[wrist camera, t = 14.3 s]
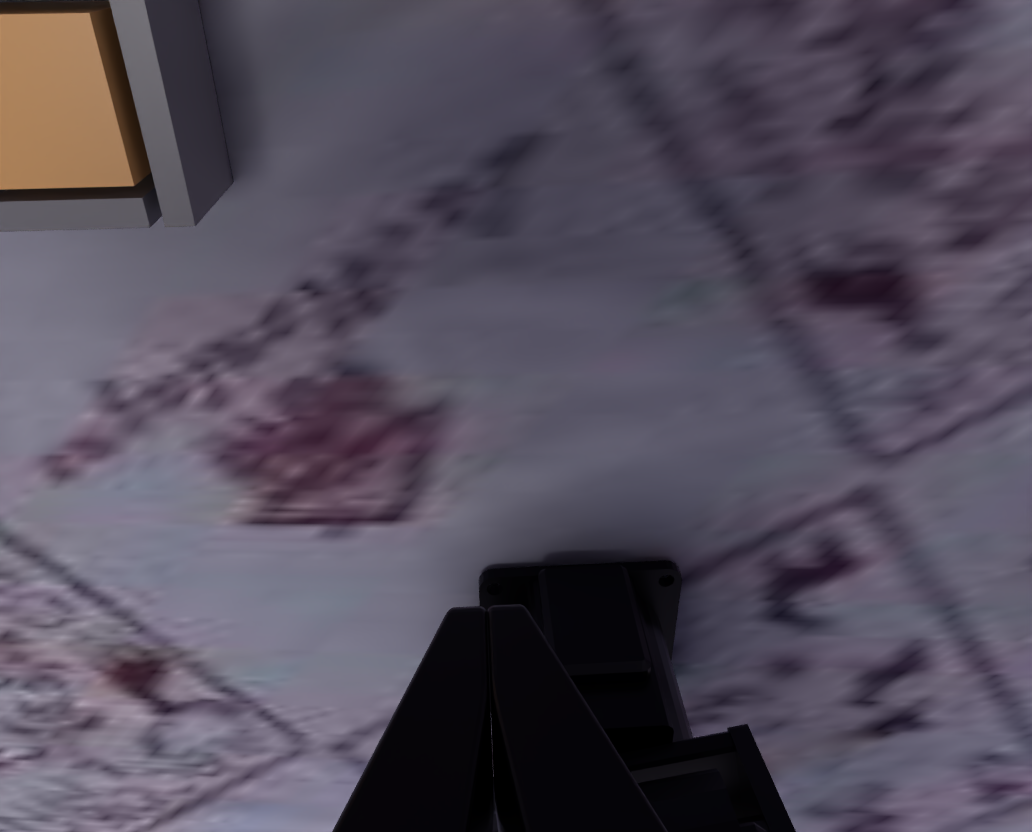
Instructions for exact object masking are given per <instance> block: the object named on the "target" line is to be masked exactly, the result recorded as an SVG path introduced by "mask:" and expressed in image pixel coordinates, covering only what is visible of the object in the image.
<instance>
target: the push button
mask: <svg viewBox="0 0 1032 832" xmlns="http://www.w3.org/2000/svg"><path fill="white" fill-rule="evenodd" d="M150 173H151V168H150V164H149V160H148V156H147V152H146V148H145V144H144V140H143V136H142V132H141V127H140V123H139V119H138V115H137V111H136V107H135V103H134V99H133V95H132V91H131V87H130V83H129V79H128V75H127V71H126V67H125V63H124V59H123V54H122V50H121V46H120V42H119V38H118V34H117V30H116V26H115V22H114V18H113V14H112V10H111V6H110V2H109V1H51V2H0V190H4V189H42V188H81V187H119V186H135V185H136V184H137V183H139V182H140V181H141V180H142V179H144V178H145V177H146V176H147V175H149V174H150Z"/></svg>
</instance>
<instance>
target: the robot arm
mask: <svg viewBox="0 0 1032 832" xmlns="http://www.w3.org/2000/svg"><path fill="white" fill-rule="evenodd" d="M664 575H669V576H668V577H666V578H661V577H662V576H664ZM681 582H682V578H681V573H680V571H679V568H678V566H677V565H676V563H674V562H672V561H645V562H624V563H604V564H583V565H562V566H541V567H521V568H500V569H490V570H487V571H485V572H484V573H482V575H481V576H480V578H479V598H480V606H474V607H454V608H451V609H450V610H449V611H448V612H447V613H446V615H445V617H444V619H443V621H442V623H441V624H440V626H439V628H438V630H437V632H436V634H435V636H434V638H433V640H432V642H431V644H430V646H429V647H428V649H427V651H426V653H425V655H424V657H423V659H422V661H421V663H420V665H419V667H418V669H417V670H416V672H415V674H414V676H413V678H412V680H411V682H410V684H409V686H408V688H407V690H406V692H405V693H404V695H403V697H402V699H401V701H400V703H399V705H398V707H397V709H396V711H395V713H394V714H393V716H392V718H391V720H390V722H389V724H388V726H387V728H386V730H385V732H384V734H383V736H382V737H381V739H380V741H379V743H378V745H377V747H376V749H375V751H374V753H373V755H372V757H371V759H370V760H369V762H368V764H367V766H366V768H365V770H364V772H363V774H362V776H361V778H360V780H359V781H358V783H357V785H356V787H355V789H354V791H353V793H352V795H351V797H350V799H349V801H348V803H347V804H346V806H345V808H344V810H343V812H342V814H341V816H340V818H339V820H338V822H337V824H336V826H335V827H334V829H333V831H332V832H796V831H795V829H794V827H793V825H792V822H791V820H790V818H789V816H788V814H787V811H786V809H785V807H784V805H783V802H782V800H781V798H780V796H779V794H778V791H777V789H776V787H775V785H774V782H773V780H772V778H771V776H770V773H769V771H768V769H767V767H766V765H765V762H764V760H763V758H762V756H761V753H760V751H759V749H758V747H757V745H756V742H755V740H754V738H753V736H752V733H751V731H750V729H749V727H748V725H747V724H745V725H740V726H735V727H729V728H728V731H727V732H722V733H717V734H711V735H706V736H701V737H696V738H693V736H692V733H691V729H690V726H689V722H688V719H687V715H686V712H685V708H684V705H683V701H682V698H681V694H680V691H679V687H678V684H677V680H676V677H675V673H674V670H673V666H672V663H671V658H672V650H673V642H674V635H675V627H676V620H677V612H678V605H679V597H680V590H681ZM493 583H497V584H500V585H498V586H490V584H493ZM491 723H492V735H491ZM492 749H493V761H492ZM493 774H494V777H493Z"/></svg>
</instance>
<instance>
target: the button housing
mask: <svg viewBox="0 0 1032 832" xmlns="http://www.w3.org/2000/svg"><path fill="white" fill-rule="evenodd" d="M51 1H109V2H110V6H111V10H112V14H113V18H114V22H115V26H116V30H117V34H118V38H119V42H120V46H121V50H122V54H123V59H124V63H125V67H126V71H127V75H128V79H129V83H130V87H131V91H132V95H133V99H134V103H135V107H136V111H137V115H138V119H139V123H140V127H141V132H142V136H143V140H144V144H145V148H146V152H147V156H148V160H149V164H150V168H151V173H150V174H149V175H147V176H146V177H145V178H144V179H142V180H141V181H140V182H139V183H137V184H136V185H135V186H119V187H81V188H42V189H4V190H0V232H10V231H45V230H80V229H115V228H150V227H151V226H152V225H153V224H154V223H155V222H156V221H157V220H158V219H159V218H160V217H161V216H162V217H163V221H164V225H165V227H186V226H196V225H197V224H198V223H199V221H200V220H201V219H202V218H203V217H204V216H205V214H206V213H207V212H208V211H209V210H210V209H211V208H212V206H213V205H214V204H215V203H216V202H217V201H218V200H219V198H220V197H221V196H222V195H223V194H224V193H225V191H226V190H227V189H228V188H229V187H230V186H231V185H232V183H233V178H232V173H231V168H230V163H229V158H228V152H227V147H226V142H225V137H224V132H223V127H222V122H221V116H220V111H219V106H218V101H217V96H216V91H215V86H214V80H213V75H212V70H211V65H210V60H209V55H208V50H207V45H206V39H205V34H204V29H203V24H202V19H201V14H200V9H199V3H198V0H0V2H51Z"/></svg>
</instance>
